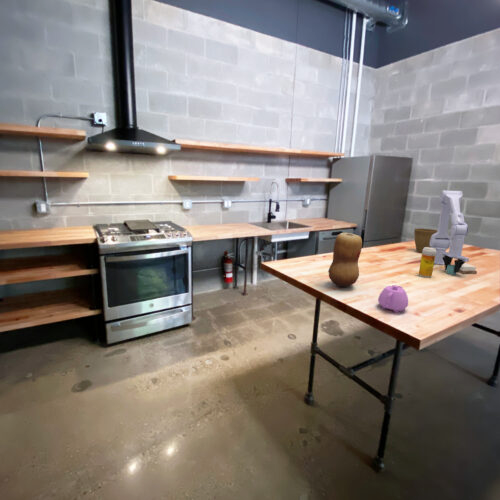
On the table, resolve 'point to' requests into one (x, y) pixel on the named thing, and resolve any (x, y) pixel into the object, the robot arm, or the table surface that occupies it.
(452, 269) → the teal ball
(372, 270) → the table surface
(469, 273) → the walnut slab
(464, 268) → the off-white slab
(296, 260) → the table surface
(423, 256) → the glass of beer
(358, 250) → the butternut squash
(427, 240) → the plant pot
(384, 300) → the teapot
